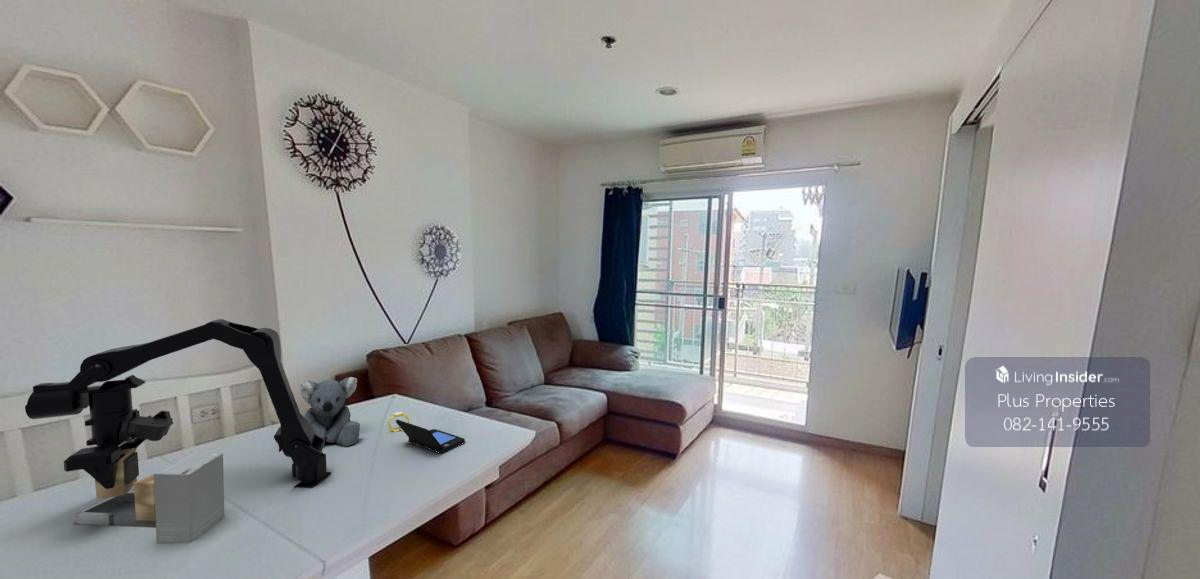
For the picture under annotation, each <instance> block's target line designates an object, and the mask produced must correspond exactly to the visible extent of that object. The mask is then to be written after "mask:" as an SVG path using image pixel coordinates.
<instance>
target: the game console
mask: <svg viewBox="0 0 1200 579" xmlns="http://www.w3.org/2000/svg"><path fill="white" fill-rule="evenodd" d="M395 423H396V424H397V425H398V427H399V429H402V430H403V431H402V432H404V434H405V435H406V436H407V437H408V441H407V442H408V443H409V442H412V443H411V444H413V443H415V444H418V445H420V446H419V447H421V446H425V447H424V448H426V447H428V448H430V449H432V450H434V451H437V452H439V453H443V454H444V453H447V452H449V451H450V449H451V450H453V449H455V448H457V447H459V446H461V445H463V444H464V443H465V441H466V440H465V438H463V437H461V436H458V435H455V434H451V433H449V432H446V431H442V430H440V429H437V428H436V429H435V428H434V429H427V428H425V427H422V426H419V425H417V424H412V423H410V422H409V423H408V422H407V421H406V422H405V421H404V420H400V419H396V420H395ZM462 443H463V444H462ZM415 444H414V445H415ZM460 444H461V445H460ZM418 445H417V446H418ZM458 445H459V446H458ZM456 446H457V447H456ZM454 447H455V448H454ZM428 448H427V449H428ZM452 448H453V449H452ZM432 450H431V451H432ZM448 450H449V451H448ZM434 451H433V452H434ZM446 451H447V452H446ZM437 452H436V453H437ZM439 453H438V454H439Z"/></svg>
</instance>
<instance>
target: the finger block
mask: <svg viewBox="0 0 1200 579" xmlns="http://www.w3.org/2000/svg"><path fill="white" fill-rule="evenodd" d="M121 454H126V456H124V457H123V458H122V459H121V460H120V461H119V462H118V463H117V470H116V479H115V484H114V487H113V488H110V489H105V488H104V487H103V486H102V485H101V484H100V483H99V482H97V481H96V480H95V479H94V485H95V495H96V496H95V497H96V500H97V501H98V500H103V499H104V500H105V499H108V498H110V497H115V496H121V495H125V494H126V493H127V492H128V491H131V490H132V488H134V483H135V482H137V481H138V476H140V468H139V455H138V451H135V448H131V449H124V450H121ZM121 454H120V455H121Z"/></svg>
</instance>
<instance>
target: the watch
mask: <svg viewBox="0 0 1200 579" xmlns="http://www.w3.org/2000/svg"><path fill="white" fill-rule="evenodd" d="M401 416H402V417H404V418H405V419H406V420H407V421H406V422H407V423H409V424H410V417H409V416H408V415H407V414H405V413H404V411H397V412H394V413H393V415H392V416H391V417H390V418H389V419H388V428H389V431H391V432H393V431H397V432H400V431H399V429H400V428H396V429H395V428H393V427H392V426H391V421H392V419H393V418H397V417H401Z"/></svg>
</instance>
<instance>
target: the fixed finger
mask: <svg viewBox="0 0 1200 579" xmlns="http://www.w3.org/2000/svg"><path fill="white" fill-rule="evenodd" d="M133 491H134V495H135V510H136V520H142V521H156V515H155V493H154V474H153V473H152V474H150V475H148V476H146V477H144V478H141V479H139V480H137V482H135V483H134V487H133Z"/></svg>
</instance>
